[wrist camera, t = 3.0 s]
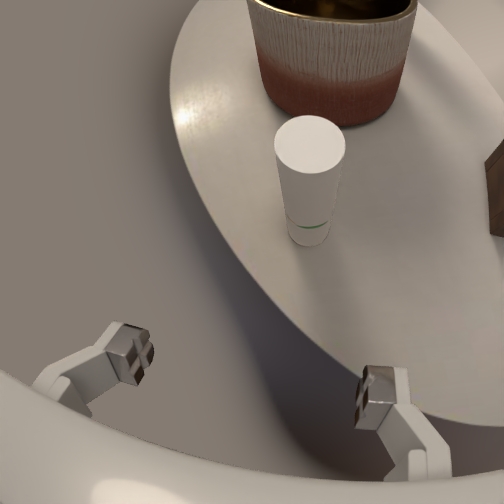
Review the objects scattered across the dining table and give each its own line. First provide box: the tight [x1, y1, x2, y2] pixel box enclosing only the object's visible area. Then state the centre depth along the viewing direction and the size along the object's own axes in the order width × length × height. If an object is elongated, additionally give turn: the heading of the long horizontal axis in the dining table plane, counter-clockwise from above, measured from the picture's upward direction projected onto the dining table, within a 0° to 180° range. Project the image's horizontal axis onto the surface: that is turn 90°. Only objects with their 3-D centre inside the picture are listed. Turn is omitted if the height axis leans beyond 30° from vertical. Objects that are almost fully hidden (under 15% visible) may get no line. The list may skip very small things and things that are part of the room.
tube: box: [274, 115, 345, 247], centre depth 25 cm, size 4×4×15 cm
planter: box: [247, 0, 418, 126], centre depth 30 cm, size 18×18×16 cm
